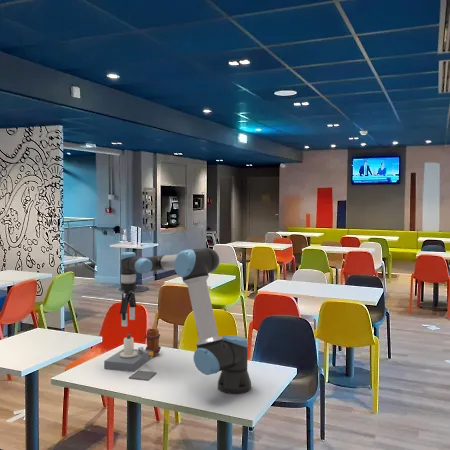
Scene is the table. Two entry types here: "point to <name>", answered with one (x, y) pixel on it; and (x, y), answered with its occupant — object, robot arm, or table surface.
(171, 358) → the table surface
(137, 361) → the socket
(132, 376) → the pad
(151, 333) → the mug
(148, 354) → the clip
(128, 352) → the plug
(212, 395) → the table surface
